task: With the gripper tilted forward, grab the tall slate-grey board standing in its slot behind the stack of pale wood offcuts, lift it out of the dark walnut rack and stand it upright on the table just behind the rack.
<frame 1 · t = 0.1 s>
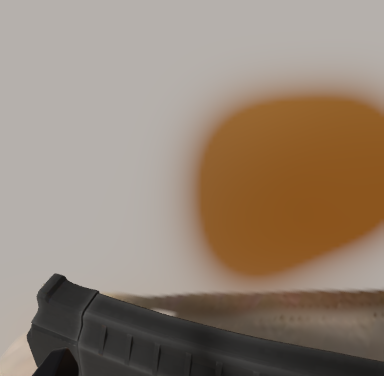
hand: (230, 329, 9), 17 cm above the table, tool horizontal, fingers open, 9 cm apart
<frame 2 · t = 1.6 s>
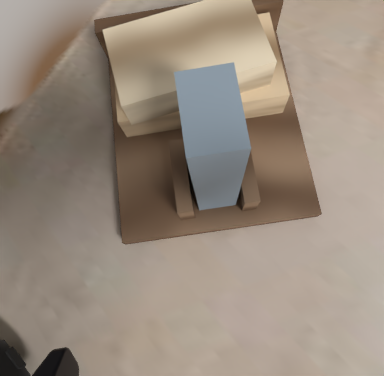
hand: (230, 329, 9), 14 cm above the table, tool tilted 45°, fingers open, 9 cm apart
walnut rack: (213, 184, 24), on the table
offcut stack: (196, 67, 23), point 4 cm above the table
tall board: (213, 180, 23), point 1 cm above the table, touching walnut rack
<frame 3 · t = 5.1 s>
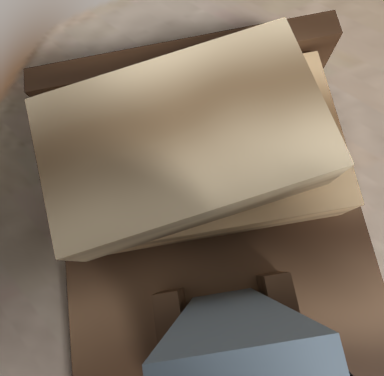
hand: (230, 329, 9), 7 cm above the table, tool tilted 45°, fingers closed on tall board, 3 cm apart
walnut rack: (229, 336, 15), on the table
offcut stack: (197, 152, 13), point 4 cm above the table
tall board: (230, 340, 14), point 1 cm above the table, touching gripper, walnut rack
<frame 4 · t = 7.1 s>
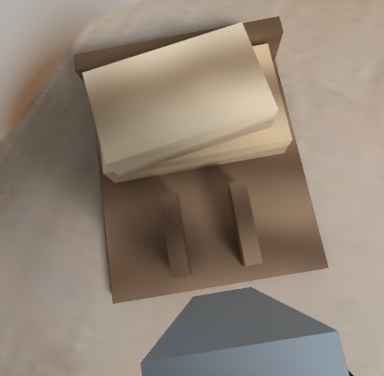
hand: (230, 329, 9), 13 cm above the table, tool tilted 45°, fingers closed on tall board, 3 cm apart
walnut rack: (210, 233, 22), on the table
offcut stack: (188, 108, 21), point 4 cm above the table
tall board: (230, 340, 14), point 8 cm above the table, touching gripper
when the fingers open (7 cm above the table, at t = 9.2 s): tall board stays where it is, on the table.
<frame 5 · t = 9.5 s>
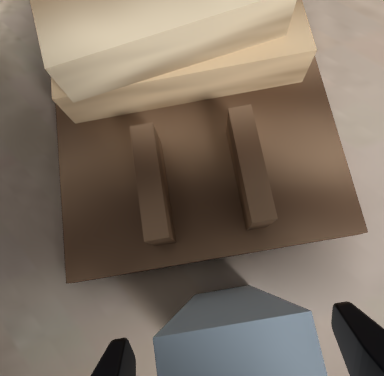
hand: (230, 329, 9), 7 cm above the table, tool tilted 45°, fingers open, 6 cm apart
walnut rack: (203, 190, 17), on the table
offcut stack: (172, 14, 15), point 4 cm above the table
tall board: (230, 334, 15), on the table
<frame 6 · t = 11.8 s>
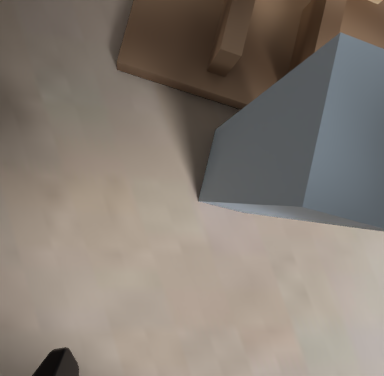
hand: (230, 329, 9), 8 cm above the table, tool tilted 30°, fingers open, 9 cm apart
walnut rack: (257, 50, 18), on the table
tall board: (229, 171, 18), on the table
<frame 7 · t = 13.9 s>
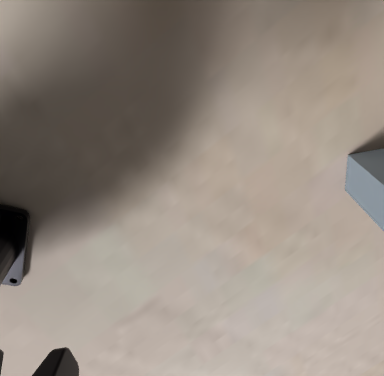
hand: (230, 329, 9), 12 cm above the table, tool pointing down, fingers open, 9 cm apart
tall board: (377, 167, 21), on the table
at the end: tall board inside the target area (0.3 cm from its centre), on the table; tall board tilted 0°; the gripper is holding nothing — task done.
